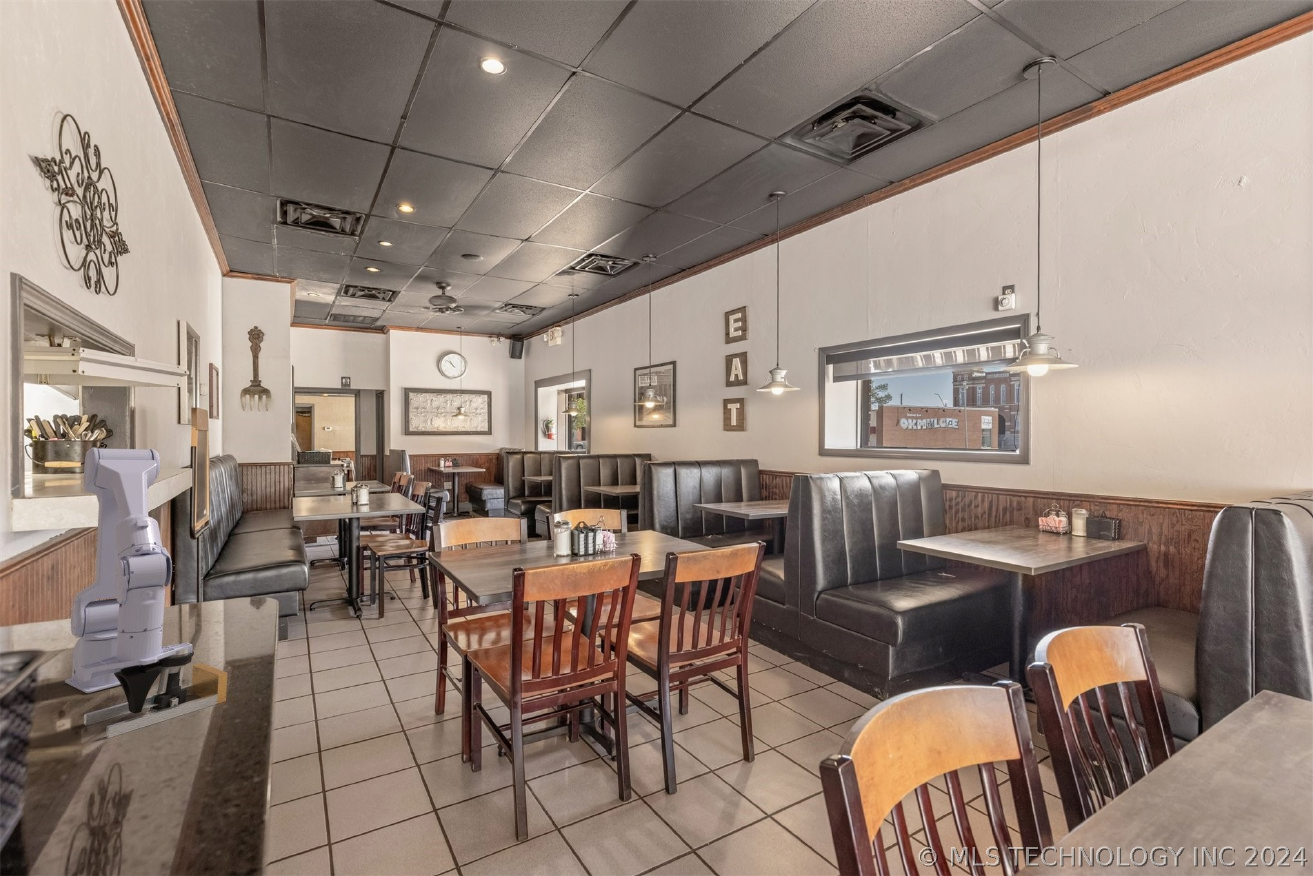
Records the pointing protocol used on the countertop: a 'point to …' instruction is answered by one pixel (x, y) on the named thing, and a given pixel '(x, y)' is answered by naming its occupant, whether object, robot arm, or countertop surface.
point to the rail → (204, 684)
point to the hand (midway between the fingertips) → (135, 711)
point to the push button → (170, 681)
